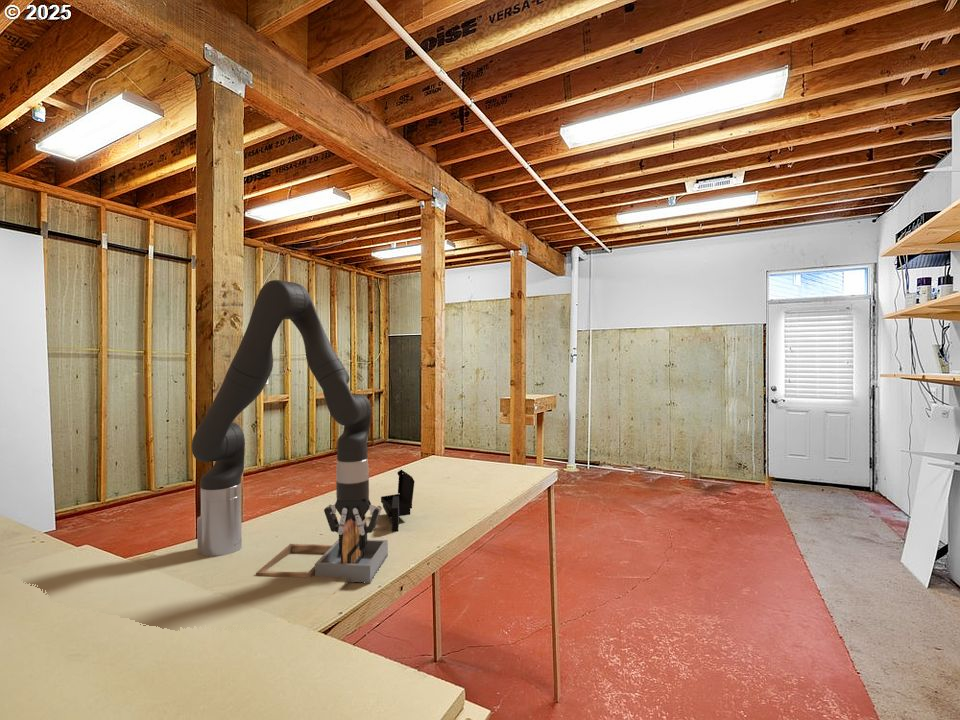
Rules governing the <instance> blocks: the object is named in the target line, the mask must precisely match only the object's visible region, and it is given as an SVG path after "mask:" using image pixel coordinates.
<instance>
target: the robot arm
mask: <svg viewBox="0 0 960 720" xmlns="http://www.w3.org/2000/svg"><path fill="white" fill-rule="evenodd" d="M315 307H316V306H315V305H314V302H313V299H312V297H311V295H310V294H309V291H308V290H307V288H306V287H304V286H303V285H302V284H300V283H297V282H292V281H285V280H279V279H272V280H269V281H267V282H266V283H264V284H263V286H262V287H261V289H260V290H259V292H258V295H257V296H256V300H255V302H254V306H253V309H252V311H251V312H252V313H251V315H250V318H249V321H248V324H247V327H246V330H245V331H244V335H243V336H242V339H241V341H240V344H239V346H238V348H237V350H236V353H235V355H234V357H233V359H232V360H231V363H230V365H229V367H228V369H227V371H226V373H225V376H224V379H223V381H222V383H221V385H220V388H219V389H218V392H217V394H216V395H215V397H214V399H213V402H212V403H211V405H210V407H209V409H208V410H207V412H206V414H205V416H204V417H203V418H202V420H201V422H200V424H199V425H198V427H197V429H196V431H195V432H194V435H193V437H192V440H191V453H192V455H193V457H194V459H195V460H197V461H199V462H202V463H211V462H214V463H213V466H212V467H211V468H210V469H209V470H208V471H206V473H203V474H202V476H201V478H200V485H199V487H200V516H198V517H197V518H196V521H197V522H196V523H197V524H196V525H197V526H196V527H197V528H196V529H197V531H196V532H197V535H196V536H197V538H196V539H197V542H196V543H197V555H198V554H200V555H203V556H204V557H205V556H206V557H219V556H220V557H221V556H225V555H230V554H234V553H236V552H238V551H239V550H241V548H242V547H243V546H242V545H243V544H242V543H243V542H242V541H243V537H242V535H243V534H242V531H243V529H242V526H243V525H242V475H243V474H244V469H245V453H246V452H245V451H246V440H245V439H246V438H245V434H244V432H243V431H244V430H243V429H242V428H241V426H240V425H239V424H238V423H235V422H234V421H235V419H236V418H237V417H238V416H239V415H240V414H241V413H242V412H243V411H244V410H245V409H246V408H248V406H249V405H251V404H252V403H253V402H254V401H255V399H257V398H258V397H259V395H260V394H261V393H262V392H263V391H264V389H265V387H266V384H267V382H268V380H269V378H270V377H271V374H272V372H273V368H274V355H273V354H274V353H273V342H274V338H275V335H276V334H277V331H278V329H279V327H280V325H281V324H282V322H283V320H290V321H291V322H292V324H293V325H294V326H295V327H296V328H297V330H298V331H299V333H300V335H301V339H302V341H303V344H304V350H305V351H304V352H305V360H306V362H307V366H308V367H309V370H310V371H311V373H312V374H313V377H314V378H315V379H316V381H317V383H318V385H319V386H320V388H321V390H322V393H323V398H324V400H325V403H326V407H327V409H328V411H329V414H330V415H331V417H332V419H334V421H335V422H336V423H338V424H339V425H341V426H343V431H342V433H341V435H340V436H339V437H338V439H337V443H336V446H337V447H336V460H337V461H336V470H335V471H336V472H335V473H336V474H335V476H336V478H335V479H336V480H335V481H336V483H335V484H336V485H335V487H336V501H335V502H334V503H335V504H333V505H332V504H329V505H327V506H326V507H325V508H324V509H323V513H324V515H325V518H326V521H327V523H328V526H329V530H330V531H331V532H332V533H337V534H338V539H339V547H341V550H342V541H343V529H344V524H345V523H347V521H348V520H349V521H350V519H352V520H353V521H356V523H357V526H358V528H359V531H360V535H359V550H363V549H364V548H365V547H366V546H367V540H368V534H371V533H372V532H373V531H374V530H375V528H376V526H377V523H378V521H379V517H380V514H381V511H382V509H383V507H382V506H381V505H377V506H376V505H373V504H372V503H371V500H370V498H369V497H370V471H369V470H370V469H369V468H370V467H369V461H368V457H369V456H368V455H369V454H368V437H369V433H370V428H371V421H372V416H373V415H372V414H373V412H372V405H371V402H370V400H369V398H368V397H367V396H365V395H364V394H361V393H353V394H352V392H351V390H350V387H349V385H348V384H349V382H350V376H349V374H348V371H347V369H346V368H345V366H344V364H343V363H342V361H341V359H340V358H339V356H338V354H337V353H336V351H335V350H334V348H333V346H332V344H331V342H330V340H329V338H328V336H327V333H326V332H325V329H324V326H323V324H322V321H321V319H320V317H319V314H318V312H317V310H316V308H315ZM368 511H369V512H370V516H371V518H370V520H369V524H368V523H367V522H368V521H367V516H366V514H367V512H368ZM336 512H337V513H338V514H339V515H340V519H339V520H338V517H337V514H336Z"/></svg>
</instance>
